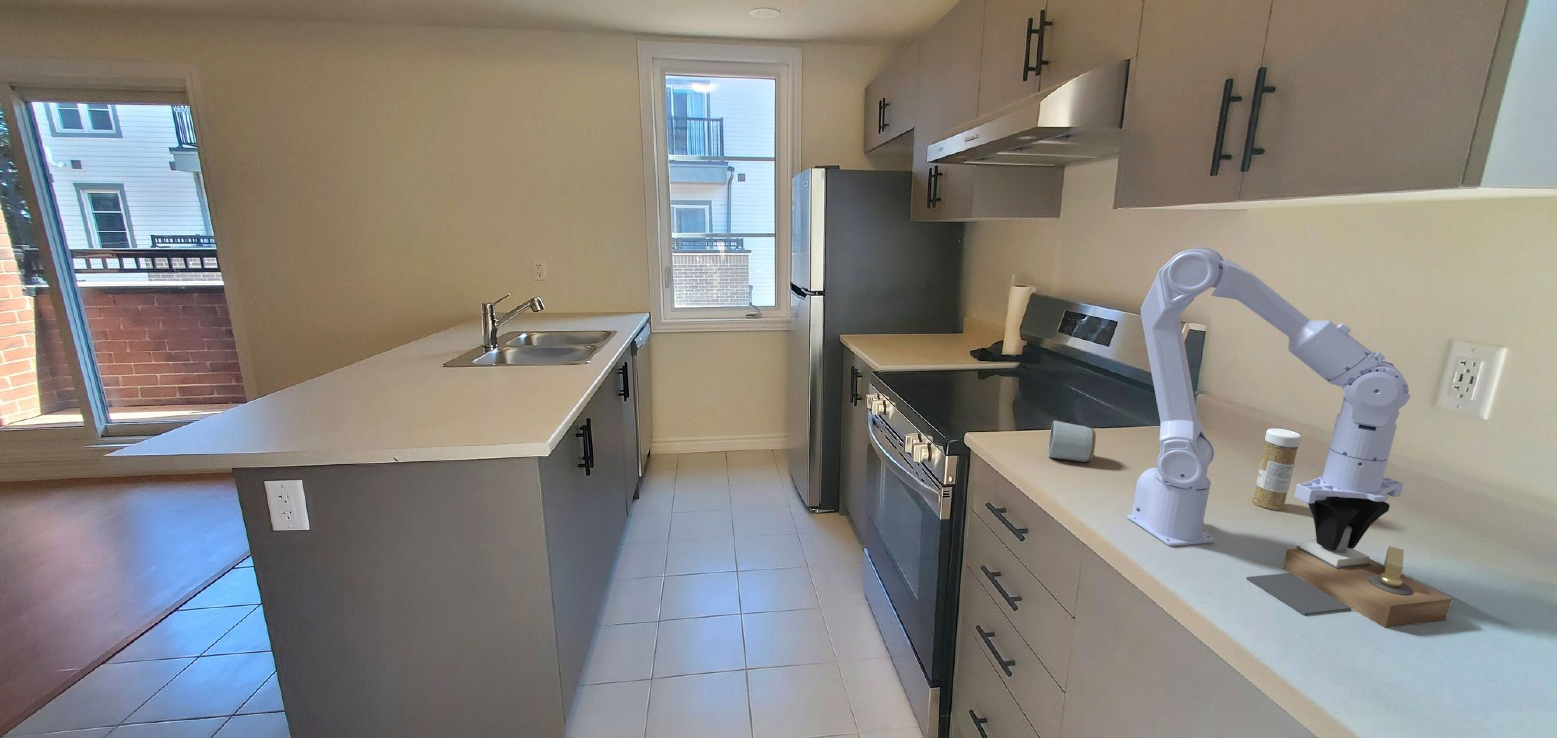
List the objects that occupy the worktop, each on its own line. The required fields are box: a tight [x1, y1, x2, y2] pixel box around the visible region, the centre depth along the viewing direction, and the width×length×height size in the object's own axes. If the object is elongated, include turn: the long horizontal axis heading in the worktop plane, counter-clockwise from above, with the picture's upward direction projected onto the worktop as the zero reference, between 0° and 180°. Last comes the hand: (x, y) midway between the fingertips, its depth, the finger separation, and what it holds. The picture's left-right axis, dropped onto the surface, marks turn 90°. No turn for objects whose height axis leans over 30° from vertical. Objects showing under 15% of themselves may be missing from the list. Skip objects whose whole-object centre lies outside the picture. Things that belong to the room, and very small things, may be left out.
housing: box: [1282, 545, 1453, 628], centre depth 80 cm, size 13×9×3 cm
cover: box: [1299, 525, 1370, 566], centre depth 83 cm, size 5×5×4 cm
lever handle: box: [1379, 545, 1404, 588], centre depth 78 cm, size 7×2×3 cm, turn 134°
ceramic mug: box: [1047, 420, 1097, 463], centre depth 126 cm, size 11×8×8 cm
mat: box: [1245, 572, 1352, 616], centre depth 80 cm, size 8×7×1 cm
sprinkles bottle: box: [1252, 428, 1302, 511], centre depth 104 cm, size 5×5×13 cm
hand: (1335, 545), depth 83 cm, fingers closed on cover, 2 cm apart
